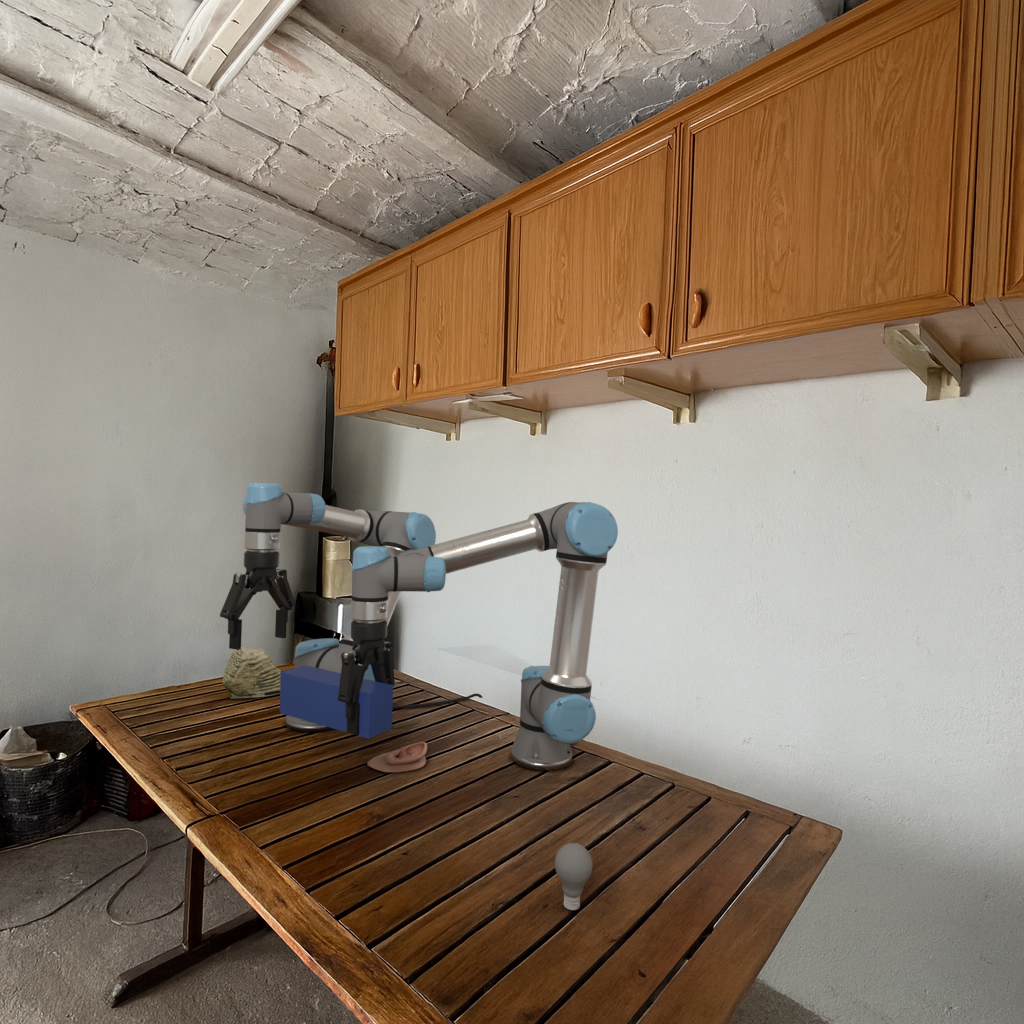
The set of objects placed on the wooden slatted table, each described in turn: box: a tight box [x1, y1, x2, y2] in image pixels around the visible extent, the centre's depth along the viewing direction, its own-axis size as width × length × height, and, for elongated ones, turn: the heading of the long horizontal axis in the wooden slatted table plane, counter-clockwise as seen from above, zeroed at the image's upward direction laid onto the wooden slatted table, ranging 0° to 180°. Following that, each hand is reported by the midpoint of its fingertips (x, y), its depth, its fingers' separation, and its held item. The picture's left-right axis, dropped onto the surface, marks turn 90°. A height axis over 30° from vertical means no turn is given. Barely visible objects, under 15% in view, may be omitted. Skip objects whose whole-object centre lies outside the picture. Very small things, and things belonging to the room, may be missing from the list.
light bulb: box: [554, 842, 594, 911], centre depth 100 cm, size 6×6×10 cm
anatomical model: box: [366, 741, 428, 773], centre depth 152 cm, size 13×4×12 cm
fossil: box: [222, 646, 282, 699], centre depth 198 cm, size 9×18×15 cm, turn 132°
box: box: [279, 665, 394, 740], centre depth 139 cm, size 27×7×9 cm, turn 60°
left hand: (258, 643), depth 145 cm, fingers open, 13 cm apart
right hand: (366, 727), depth 134 cm, fingers closed on box, 7 cm apart
